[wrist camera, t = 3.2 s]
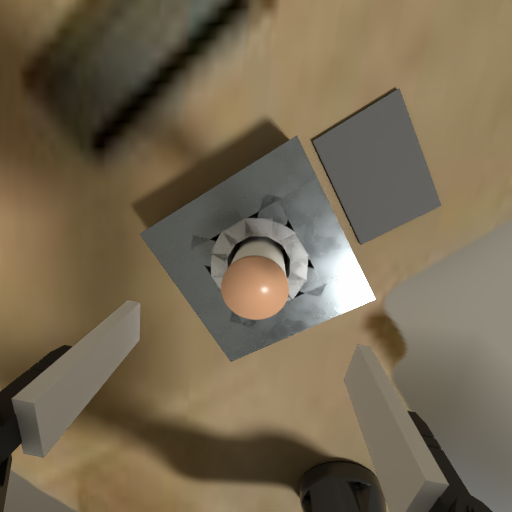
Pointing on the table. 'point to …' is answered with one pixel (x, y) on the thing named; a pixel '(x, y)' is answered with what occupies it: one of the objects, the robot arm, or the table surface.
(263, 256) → the capped white peg
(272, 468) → the table surface
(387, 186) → the rubber mat
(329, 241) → the housing
